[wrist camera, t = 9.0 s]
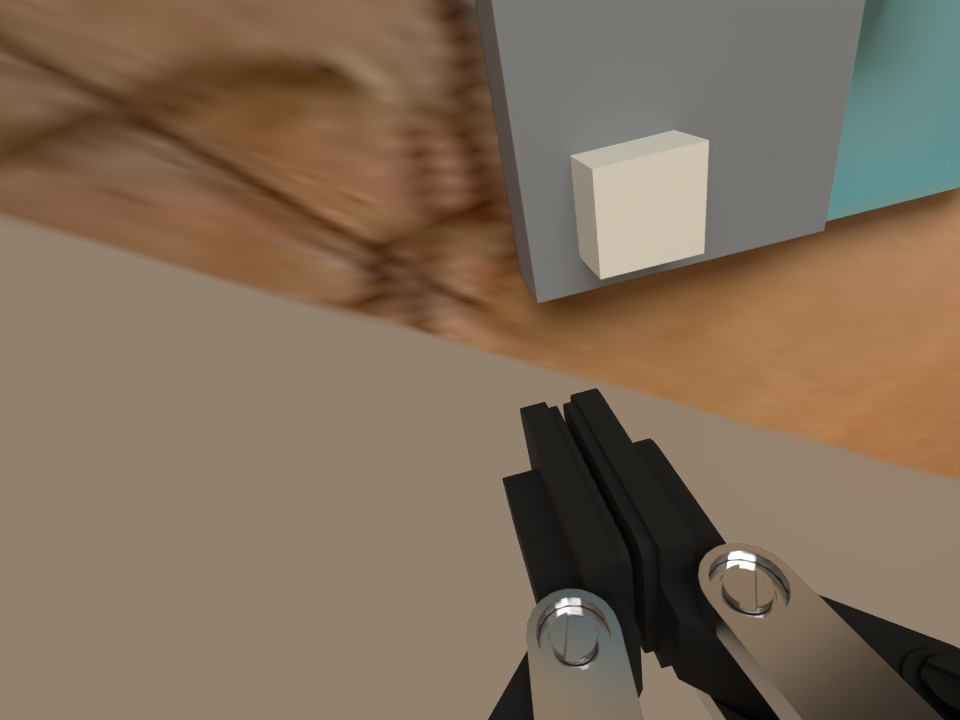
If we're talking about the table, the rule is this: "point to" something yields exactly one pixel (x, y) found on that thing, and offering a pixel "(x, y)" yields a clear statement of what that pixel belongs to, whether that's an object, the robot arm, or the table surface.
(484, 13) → the plate
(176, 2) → the table surface
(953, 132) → the box
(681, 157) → the beige block
